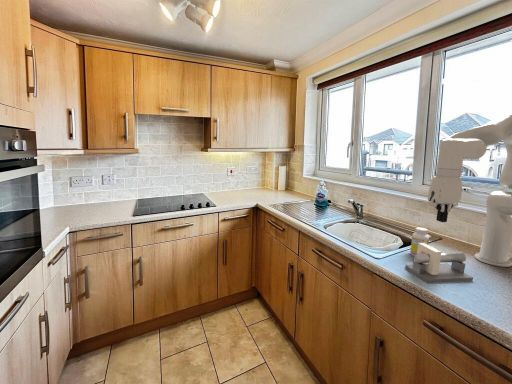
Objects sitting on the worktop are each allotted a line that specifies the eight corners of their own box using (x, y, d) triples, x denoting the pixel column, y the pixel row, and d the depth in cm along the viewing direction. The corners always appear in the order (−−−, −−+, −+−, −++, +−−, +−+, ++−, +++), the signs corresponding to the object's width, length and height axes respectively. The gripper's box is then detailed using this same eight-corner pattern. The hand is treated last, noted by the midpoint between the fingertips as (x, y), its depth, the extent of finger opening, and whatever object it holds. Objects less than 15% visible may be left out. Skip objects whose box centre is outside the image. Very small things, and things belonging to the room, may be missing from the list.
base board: (446, 266, 113) (447, 263, 113) (472, 281, 101) (473, 277, 101) (405, 268, 111) (405, 264, 111) (426, 283, 99) (426, 279, 99)
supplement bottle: (420, 252, 128) (424, 226, 125) (429, 258, 121) (434, 231, 119) (406, 252, 127) (410, 226, 125) (415, 258, 121) (419, 231, 119)
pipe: (455, 267, 109) (458, 250, 107) (463, 272, 105) (467, 254, 104) (412, 269, 107) (414, 251, 105) (419, 274, 103) (421, 256, 101)
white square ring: (421, 263, 110) (424, 242, 108) (438, 274, 101) (441, 251, 99) (415, 263, 109) (418, 243, 108) (432, 274, 100) (435, 252, 99)
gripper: (458, 172, 103) (451, 218, 106) (422, 172, 101) (416, 218, 105) (475, 174, 96) (467, 223, 99) (437, 174, 94) (430, 224, 97)
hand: (441, 221), depth 102 cm, fingers closed
